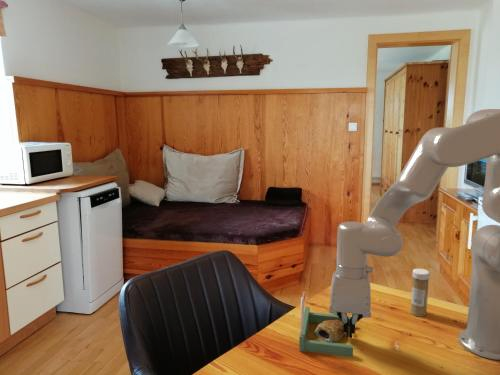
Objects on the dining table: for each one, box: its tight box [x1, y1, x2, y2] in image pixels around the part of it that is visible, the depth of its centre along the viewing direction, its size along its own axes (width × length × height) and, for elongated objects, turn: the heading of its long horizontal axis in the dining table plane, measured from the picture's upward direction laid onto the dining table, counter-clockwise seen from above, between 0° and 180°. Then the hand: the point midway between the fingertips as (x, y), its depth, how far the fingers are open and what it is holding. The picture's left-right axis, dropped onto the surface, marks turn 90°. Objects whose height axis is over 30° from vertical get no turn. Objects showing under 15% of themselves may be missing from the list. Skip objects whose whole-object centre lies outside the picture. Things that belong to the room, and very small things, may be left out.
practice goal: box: [298, 291, 354, 358], centre depth 104 cm, size 13×16×14 cm
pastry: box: [314, 320, 345, 343], centre depth 106 cm, size 9×7×4 cm
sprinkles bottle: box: [410, 268, 430, 317], centre depth 115 cm, size 5×5×14 cm
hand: (348, 334), depth 103 cm, fingers closed
